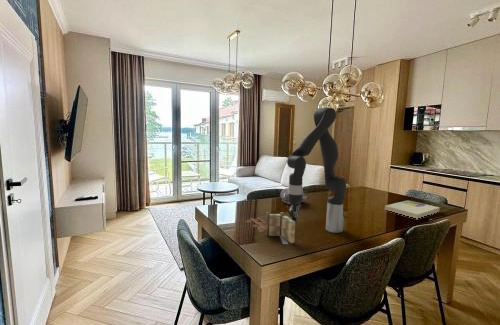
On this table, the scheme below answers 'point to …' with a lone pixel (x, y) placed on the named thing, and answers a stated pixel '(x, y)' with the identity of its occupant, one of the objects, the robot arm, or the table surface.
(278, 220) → the fixed leg
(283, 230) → the gate panel
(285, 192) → the toy elephant
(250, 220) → the decorative fence
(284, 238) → the card
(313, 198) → the table surface
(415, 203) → the puzzle box
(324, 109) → the robot arm
